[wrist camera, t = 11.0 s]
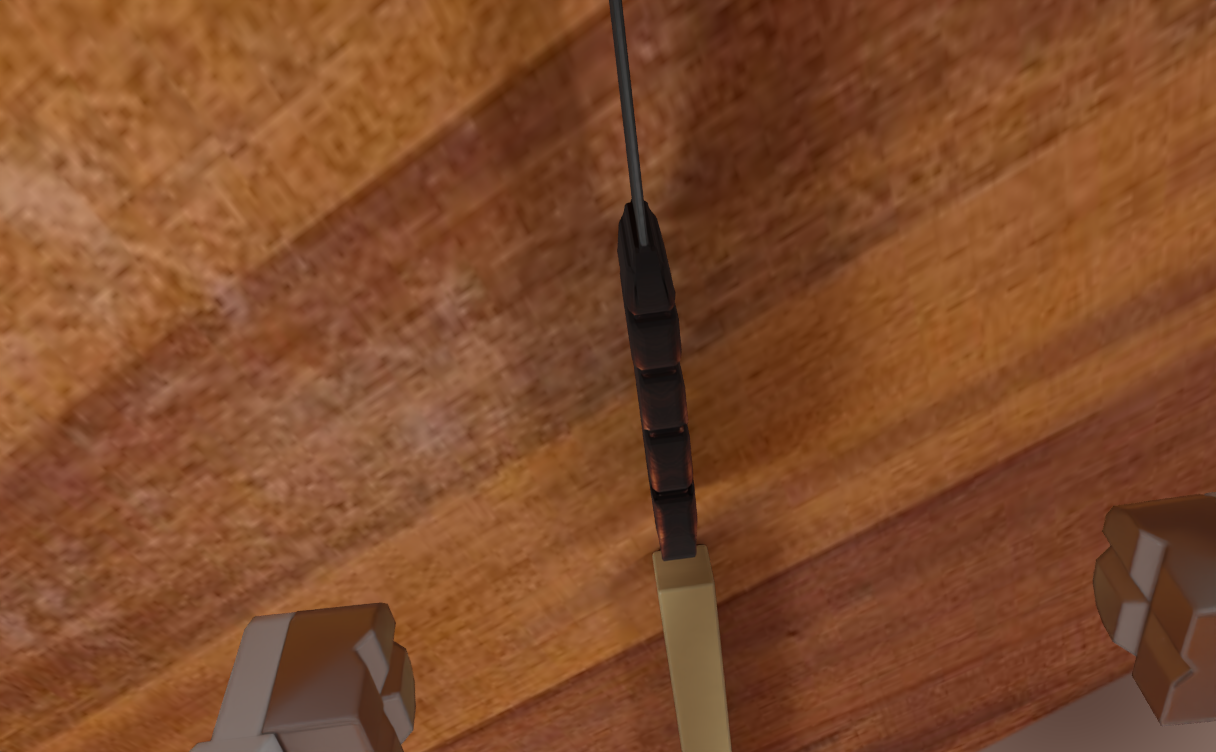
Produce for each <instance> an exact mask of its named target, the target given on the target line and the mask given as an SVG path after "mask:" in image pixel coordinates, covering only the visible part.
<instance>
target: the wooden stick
mask: <svg viewBox="0 0 1216 752" xmlns="http://www.w3.org/2000/svg"><path fill="white" fill-rule="evenodd" d="M653 564H654V571H655V578H656V585H657V592H658V598H659V605H660V611H661V618H662V625H663V631H664V638H665V644H666V651H667V657H668V664H669V670H670V677H671V684H672V690H673V697H674V703H675V710H676V716H677V723H678V730H679V736H680V743H681V749H682V752H732V749H731V739H730V729H729V719H728V709H727V700H726V690H725V680H724V670H723V660H722V651H721V641H720V631H719V621H718V611H717V602H716V592H715V583H714V578H713V573H712V568H711V563H710V558H709V553H708V548H707V547H706V545H697V553H696V556H695V557H693V558H686V559H678V560H671V561H663V560H662V556H661V551H655V552H654V553H653Z"/></svg>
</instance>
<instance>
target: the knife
mask: <svg viewBox="0 0 1216 752" xmlns="http://www.w3.org/2000/svg"><path fill="white" fill-rule="evenodd" d="M609 4H610V13H611V21H612V30H613V39H614V48H615V56H616V65H617V74H618V82H619V91H620V100H621V109H622V117H623V126H624V135H625V143H626V152H627V161H628V169H629V178H630V187H631V196H632V199H631V202H630V203H626V205H625V208H624V213H623V215H622V217H621V219H620V221H619V230H618V250H617V252H618V258H619V265H620V278H621V286H622V293H623V301H624V308H625V315H626V321H627V328H628V335H629V341H630V348H631V355H632V360H633V363H634V370H635V377H636V386H637V393H638V401H639V409H640V416H641V424H642V430H643V440H644V447H645V455H646V463H647V470H648V477H649V483H650V490H651V497H652V504H653V510H654V517H655V524H656V529H657V534H658V537H659V542H660V549H661V556H662V560H663V561H671V560H678V559H686V558H693V557H695V556H696V553H697V544H696V537H697V509H696V499H695V488H694V481H693V467H692V456H691V446H690V435H689V430H688V426H687V424H688V414H687V403H686V393H685V385H684V380H683V375H682V371H681V366H680V358H681V339H680V329H679V318H678V314H677V309H676V305H675V290H674V286H673V281H672V277H671V273H670V268H669V264H668V259H667V255H666V251H665V246H664V242H663V239H662V235H661V231H660V228H659V224H658V220H657V218H656V216H655V215H654V214H653V213H652V212H651V210H650V208H649V206H648V203H647V202H646V201H644V199H643V190H642V180H641V171H640V162H639V153H638V144H637V135H636V126H635V117H634V108H633V98H632V89H631V80H630V71H629V62H628V53H627V44H626V35H625V26H624V16H623V7H622V0H609Z"/></svg>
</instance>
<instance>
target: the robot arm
mask: <svg viewBox="0 0 1216 752" xmlns="http://www.w3.org/2000/svg"><path fill="white" fill-rule="evenodd" d="M1102 532H1103V533H1104V535H1105V537H1106V538H1107V540H1108V542H1109V543H1110V545H1111V546H1110V547H1109V548H1108V549H1107V550H1106V551H1105V552H1104V553H1103V554H1101V555H1100V556H1099V557H1098V558H1097V559H1096V563H1095V569H1094V576H1093V588H1094V595H1095V602H1096V606H1097V609H1098V612H1099V615H1100V617H1101V620H1102V623H1103V625H1104V627H1105V628H1106V630H1107V632H1108V634H1109V636H1110V638H1111V639H1112V641H1113V642H1114V643H1116V644H1117V645H1119V646H1120V647H1122V648H1124V649H1125V650H1127V651H1128V652H1130V653H1132V654H1133V655H1135V656H1136V660H1135V664H1134V668H1133V672H1132V676H1133V678H1134V680H1135V682H1136V683H1137V685H1138V687H1139V688H1140V690H1141V692H1142V694H1143V695H1144V697H1145V699H1146V701H1147V702H1148V704H1149V706H1150V708H1151V709H1152V711H1153V713H1154V714H1155V716H1156V718H1157V719H1158V721H1159V723H1160V725H1161V726H1169V725H1180V724H1191V723H1201V722H1211V721H1216V492H1211V493H1206V494H1204V495H1203V494H1194V495H1187V496H1180V497H1173V498H1166V499H1159V500H1152V501H1145V502H1138V503H1131V504H1124V505H1117V506H1113V507H1112V508H1111V509H1110V511H1109V512H1108V513H1107V514H1106V517H1105V522H1104V526H1103V530H1102ZM395 625H396V622H395V620H394V617H393V615H392V613H391V611H390V608H389V606H388V604H386V603H372V604H362V605H353V606H343V607H334V608H324V609H315V610H305V611H297V612H292V613H283V614H274V615H265V616H255V617H254V618H253V619H252V620H251V621H250V623H249V624H248V625H247V627H246V628H245V630H244V633H243V637H242V640H241V643H240V646H239V650H238V653H237V656H236V659H235V663H234V666H233V669H232V673H231V676H230V679H229V682H228V686H227V689H226V692H225V695H224V699H223V702H222V705H221V708H220V712H219V715H218V718H217V722H216V725H215V728H214V731H213V735H212V738H211V741H208V742H202V743H197V744H196V745H195V746H194V747H193V748H192V749H191V750H190V751H189V752H404V751H403V749H402V746H401V744H402V743H403V742H404V741H405V739H406V738H407V737H408V736H409V735H410V733H411V732H412V731H413V729H414V719H415V709H416V702H415V680H414V676H413V671H412V666H411V662H410V659H409V656H408V653H407V651H406V648H404V647H402V646H401V645H399V644H398V643H396V642H394V641H393V639H394V632H395Z"/></svg>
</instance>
